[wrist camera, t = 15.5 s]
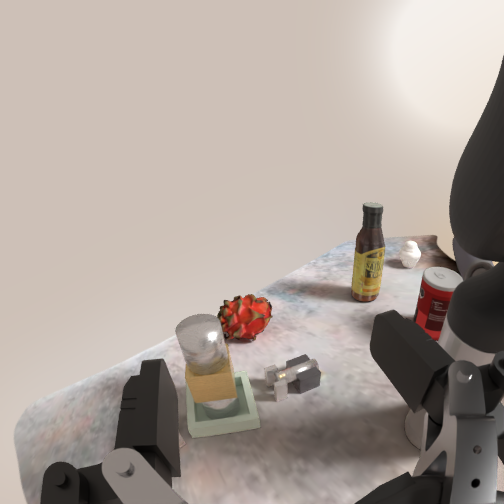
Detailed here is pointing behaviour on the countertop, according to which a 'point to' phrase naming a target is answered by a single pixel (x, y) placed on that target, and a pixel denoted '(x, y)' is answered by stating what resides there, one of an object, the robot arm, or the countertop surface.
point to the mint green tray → (241, 422)
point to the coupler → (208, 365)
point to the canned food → (435, 299)
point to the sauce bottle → (369, 255)
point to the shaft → (293, 376)
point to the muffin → (409, 254)
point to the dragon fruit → (244, 316)
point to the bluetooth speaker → (469, 262)
